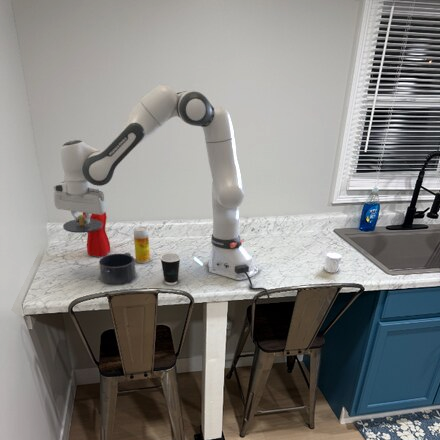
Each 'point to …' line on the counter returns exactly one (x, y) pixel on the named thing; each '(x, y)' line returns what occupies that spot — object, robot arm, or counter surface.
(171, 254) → the dixie cup
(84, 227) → the pot lid
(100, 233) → the water bottle
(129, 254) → the pot
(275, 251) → the counter surface
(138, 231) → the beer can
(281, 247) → the counter surface
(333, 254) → the white cylinder
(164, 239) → the counter surface
